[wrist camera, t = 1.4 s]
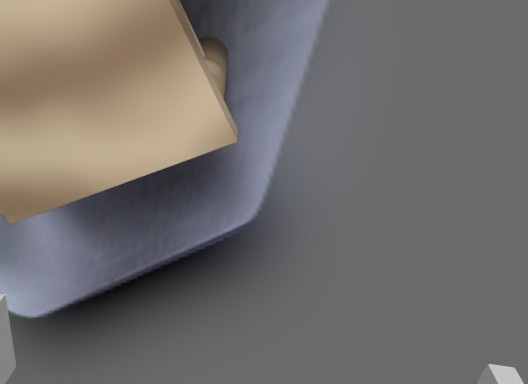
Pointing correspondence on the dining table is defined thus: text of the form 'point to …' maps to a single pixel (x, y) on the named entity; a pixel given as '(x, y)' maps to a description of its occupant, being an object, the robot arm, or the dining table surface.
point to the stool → (102, 97)
